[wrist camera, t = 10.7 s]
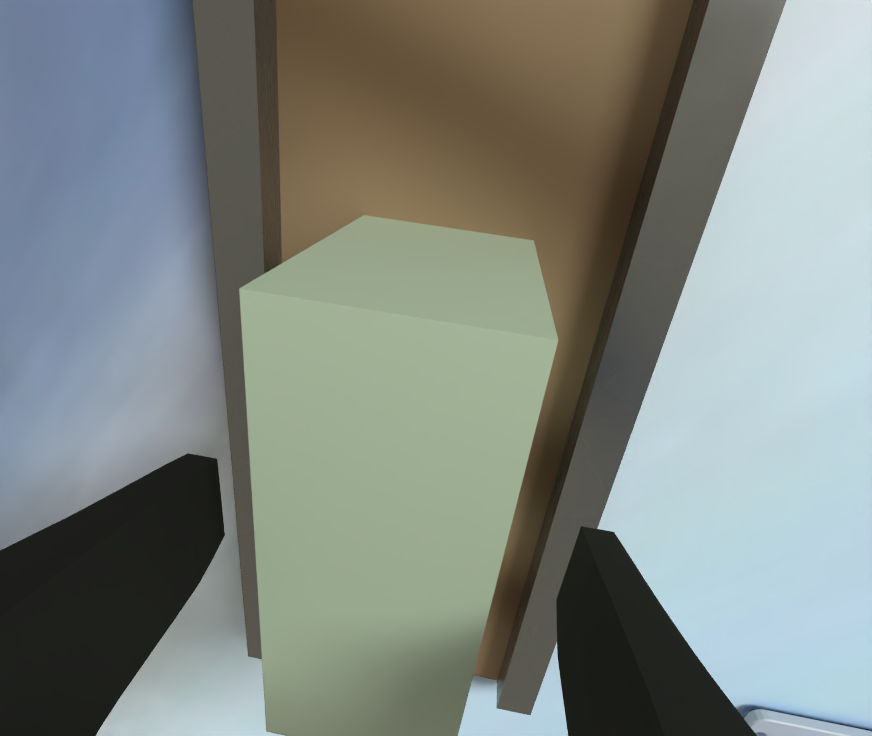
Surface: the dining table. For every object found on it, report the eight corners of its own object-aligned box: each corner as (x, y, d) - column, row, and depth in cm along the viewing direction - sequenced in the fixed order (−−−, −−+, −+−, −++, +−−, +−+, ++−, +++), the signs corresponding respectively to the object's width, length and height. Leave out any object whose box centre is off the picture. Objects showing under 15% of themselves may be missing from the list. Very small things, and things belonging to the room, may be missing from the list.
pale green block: (468, 553, 16) (448, 771, 10) (347, 529, 16) (266, 731, 11) (533, 240, 11) (558, 339, 6) (363, 215, 11) (239, 288, 6)
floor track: (536, 674, 19) (538, 716, 17) (258, 618, 19) (240, 654, 18) (791, -66, 9) (843, -101, 7) (209, -127, 10) (160, -169, 8)
